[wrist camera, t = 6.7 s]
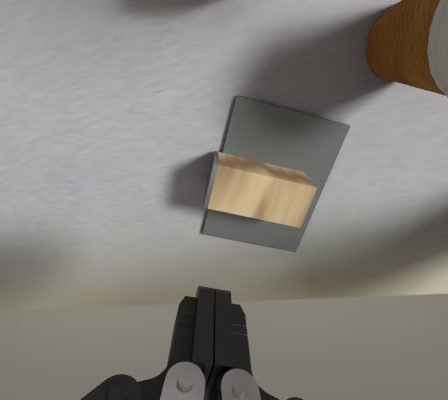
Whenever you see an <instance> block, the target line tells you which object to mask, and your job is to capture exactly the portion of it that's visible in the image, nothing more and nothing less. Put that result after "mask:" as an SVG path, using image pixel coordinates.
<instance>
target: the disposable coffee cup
mask: <svg viewBox="0 0 448 400" xmlns="http://www.w3.org/2000/svg"><path fill="white" fill-rule="evenodd" d="M366 52H367V60H368V63H369V65H370V67H371V69H372V70H373V72H374V73H375V74H376V75H378V76H379V77H381V78H384V79H387V80H391V81H395V82H398V83H402V84H406V85H409V86H413V87H416V88H420V89H424V90H428V91H431V92H435V93H438V94H442V95H445V96H447V97H448V0H402V1H400V2H398V3H397V4H395V5H394V6H392V7H390V8H389V9H388V10H386V11H385V12H384V13H383V14H382V15H381V16H380V18H379V19H378V20H377V21H376V23H375V24H374V26H373V28H372V30H371V32H370V35H369V38H368V42H367V50H366Z"/></svg>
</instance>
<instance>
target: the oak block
mask: <svg viewBox="0 0 448 400" xmlns="http://www.w3.org/2000/svg"><path fill="white" fill-rule="evenodd" d="M316 191H317V187H316V185H315V184H314V183H313V182H312V181H311V180H310V179H309V178H308V176H307V175H306V174H305V173H304V172H301V171H297V170H293V169H288V168H284V167H280V166H276V165H271V164H267V163H263V162H259V161H255V160H250V159H246V158H242V157H238V156H234V155H229V154H225V153H221V152H217V151H214V155H213V159H212V164H211V168H210V172H209V176H208V180H207V185H206V189H205V198H204V208H207V209H212V210H217V211H222V212H227V213H231V214H236V215H241V216H246V217H250V218H255V219H260V220H265V221H270V222H274V223H279V224H284V225H289V226H294V227H298V228H301V226H302V223H303V221H304V219H305V216H306V214H307V212H308V209H309V207H310V205H311V202H312V200H313V198H314V195H315V193H316Z"/></svg>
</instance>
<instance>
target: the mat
mask: <svg viewBox="0 0 448 400" xmlns="http://www.w3.org/2000/svg"><path fill="white" fill-rule="evenodd" d="M349 128H350V126H349V125H346V124H342V123H338V122H335V121H331V120H327V119H323V118H319V117H316V116H312V115H308V114H304V113H300V112H297V111H293V110H289V109H285V108H281V107H278V106H274V105H270V104H266V103H262V102H259V101H255V100H251V99H247V98H243V97H240V96H236V99H235V103H234V107H233V111H232V115H231V119H230V123H229V127H228V132H227V136H226V140H225V144H224V148H223V152H222V153H225V154H229V155H234V156H238V157H242V158H246V159H250V160H255V161H259V162H263V163H267V164H271V165H276V166H280V167H284V168H288V169H293V170H297V171H301V172H304V173H305V174H306V175H307V176H308V178H309V179H310V180H311V181H312V182H313V183H314V184H315V185H316V187H317V191H316V193H315V195H314V198H313V200H312V202H311V205H310V207H309V209H308V212H307V214H306V216H305V219H304V221H303V223H302V226H301V228H298V227H294V226H289V225H284V224H279V223H274V222H270V221H265V220H260V219H255V218H250V217H246V216H241V215H236V214H231V213H227V212H222V211H217V210H212V209H208V212H207V216H206V220H205V225H204V229H203V234H206V235H211V236H216V237H221V238H227V239H232V240H237V241H242V242H247V243H252V244H257V245H263V246H268V247H273V248H278V249H283V250H288V251H294V252H296V250H297V248H298V245H299V243H300V241H301V238H302V236H303V234H304V232H305V229H306V227H307V225H308V222H309V220H310V218H311V215H312V213H313V211H314V208H315V206H316V204H317V202H318V199H319V197H320V195H321V192H322V190H323V188H324V185H325V183H326V181H327V178H328V176H329V174H330V172H331V169H332V167H333V165H334V162H335V160H336V158H337V155H338V153H339V151H340V148H341V146H342V144H343V142H344V139H345V137H346V135H347V132H348V130H349Z"/></svg>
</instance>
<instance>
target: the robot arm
mask: <svg viewBox="0 0 448 400" xmlns="http://www.w3.org/2000/svg"><path fill="white" fill-rule="evenodd" d="M81 400H279V399H277V398H275V397H273V396H271V395H269V394H268V393H266V392H264V391H263V390H262V389H261V388H260V387H259V386H258V384H257V382H256V380H255V379H254V377H253V375H252V371H251V364H250V354H249V345H248V337H247V328H246V318H245V314H244V312H243V310H242V308H241V306H240V305H237V304H231V292H230V291H225V290H220V289H213V288H207V287H202V286H198V289H197V293H196V297H189V296H185V297H184V299H183V300H182V301H181V303H180V304H179V308H178V312H177V316H176V321H175V325H174V330H173V336H172V342H171V348H170V353H169V358H168V364H167V367H166V369H165V370H164V371H163V372H162V373H161V374H160V375H158V376H156V377H155V378H152V379H149V380H144V381H140V382H137V381H136V380H135V379H134V378H133V377H131V376H128V375H124V374H120V375H115V376H112V377H110V378H108V379H106V380H105V381H104V382H102V383H101V384H100V385H99V386H97V387H96V388H95V389H94V390H92V391H91V392H90V393H88V394H87V395H86V396H85V397H83V398H82V399H81ZM287 400H303V399H301V398H297V397H292V398H289V399H287Z"/></svg>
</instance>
